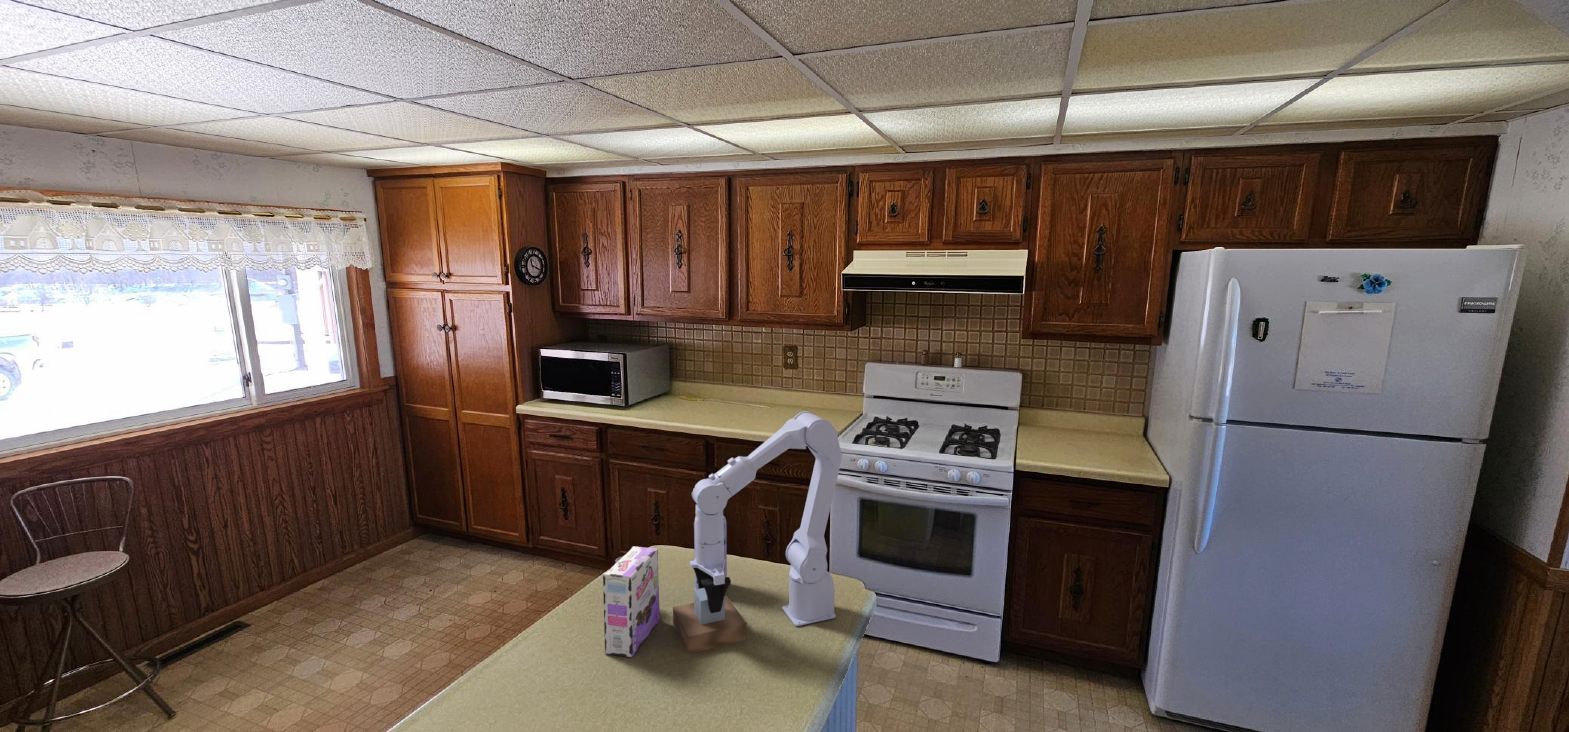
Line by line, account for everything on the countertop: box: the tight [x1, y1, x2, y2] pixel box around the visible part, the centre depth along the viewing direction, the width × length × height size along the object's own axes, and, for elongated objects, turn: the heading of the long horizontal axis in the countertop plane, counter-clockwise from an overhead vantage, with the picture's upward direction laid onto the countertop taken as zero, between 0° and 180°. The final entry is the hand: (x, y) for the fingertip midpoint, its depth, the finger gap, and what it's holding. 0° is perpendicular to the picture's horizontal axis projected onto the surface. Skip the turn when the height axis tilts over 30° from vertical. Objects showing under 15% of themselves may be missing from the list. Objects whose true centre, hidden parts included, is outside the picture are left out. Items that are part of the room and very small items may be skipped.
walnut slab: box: [672, 595, 747, 655], centre depth 127 cm, size 12×12×4 cm
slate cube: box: [693, 588, 726, 625], centre depth 126 cm, size 5×5×5 cm
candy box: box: [602, 546, 660, 658], centre depth 124 cm, size 14×6×16 cm, turn 168°
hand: (710, 602), depth 126 cm, fingers open, 7 cm apart
